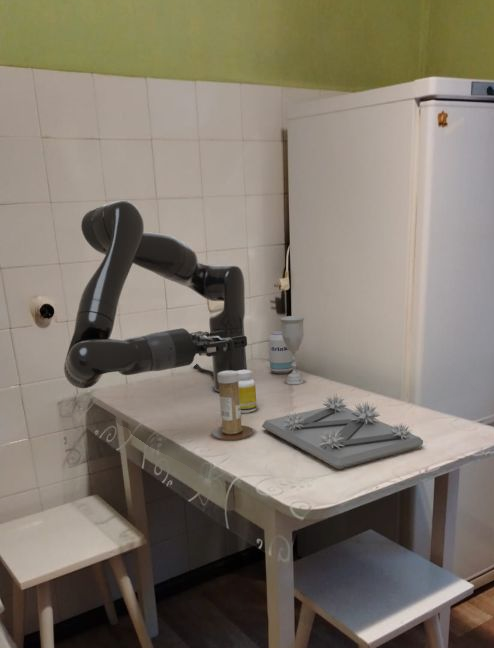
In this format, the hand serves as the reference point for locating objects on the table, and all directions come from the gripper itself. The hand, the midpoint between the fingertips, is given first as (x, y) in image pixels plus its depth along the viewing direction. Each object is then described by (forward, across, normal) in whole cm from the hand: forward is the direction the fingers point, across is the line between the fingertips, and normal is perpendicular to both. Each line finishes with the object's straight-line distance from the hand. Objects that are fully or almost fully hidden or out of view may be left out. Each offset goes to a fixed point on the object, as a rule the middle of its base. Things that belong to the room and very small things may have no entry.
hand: (235, 337), depth 136 cm
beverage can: (+38, +39, +22) cm, 59 cm away
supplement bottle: (+9, +13, +21) cm, 26 cm away
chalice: (+34, +27, +21) cm, 48 cm away
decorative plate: (+12, -19, +21) cm, 31 cm away
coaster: (-3, 0, +21) cm, 21 cm away
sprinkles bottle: (-3, 0, +21) cm, 21 cm away
